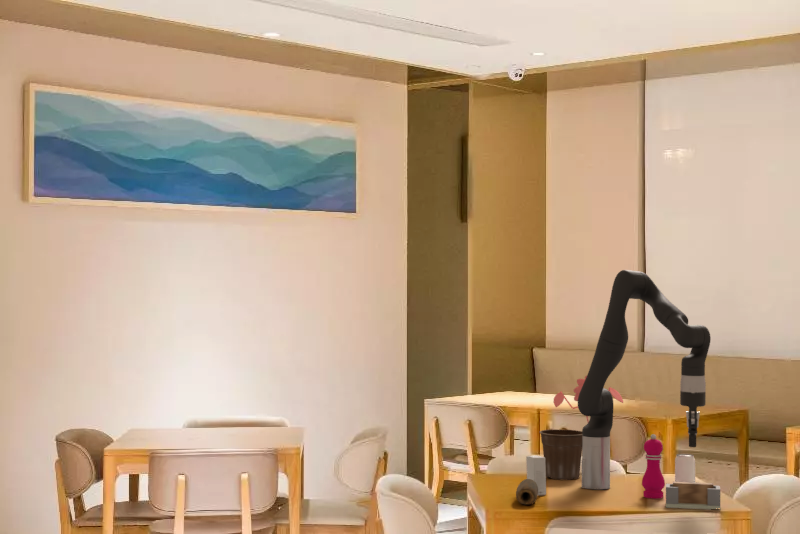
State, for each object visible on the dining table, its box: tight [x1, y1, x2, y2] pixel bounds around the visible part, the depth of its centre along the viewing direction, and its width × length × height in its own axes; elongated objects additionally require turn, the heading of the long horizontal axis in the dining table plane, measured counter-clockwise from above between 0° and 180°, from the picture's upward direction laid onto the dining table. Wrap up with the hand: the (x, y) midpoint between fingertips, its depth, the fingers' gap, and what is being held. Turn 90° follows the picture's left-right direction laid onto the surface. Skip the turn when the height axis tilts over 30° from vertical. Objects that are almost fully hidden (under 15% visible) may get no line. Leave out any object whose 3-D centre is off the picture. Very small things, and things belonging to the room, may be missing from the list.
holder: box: [665, 483, 721, 510], centre depth 359 cm, size 16×9×6 cm, turn 77°
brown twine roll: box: [515, 478, 539, 505], centre depth 363 cm, size 15×7×7 cm, turn 175°
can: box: [674, 453, 696, 482], centre depth 386 cm, size 6×6×12 cm
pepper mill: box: [641, 433, 666, 500], centre depth 375 cm, size 7×7×20 cm
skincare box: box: [525, 454, 547, 496], centre depth 379 cm, size 6×4×12 cm
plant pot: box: [539, 429, 583, 481], centre depth 415 cm, size 16×16×16 cm
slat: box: [672, 481, 714, 504], centre depth 359 cm, size 12×3×6 cm, turn 77°
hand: (692, 446), depth 359 cm, fingers closed
